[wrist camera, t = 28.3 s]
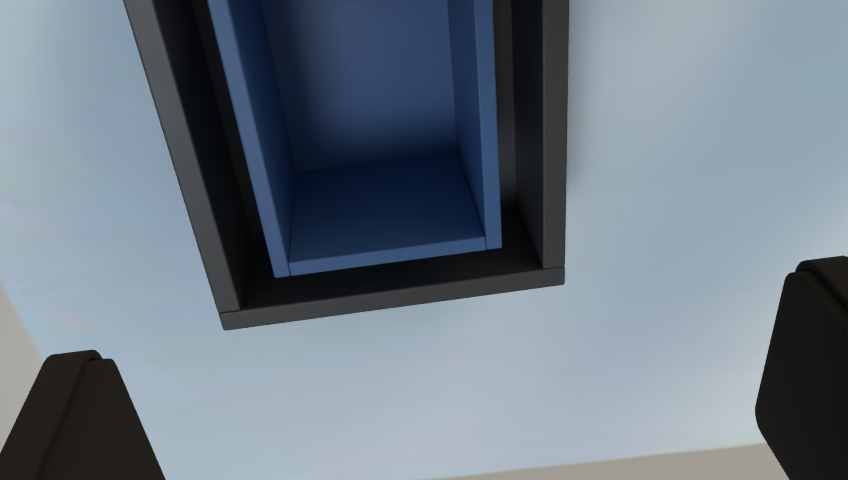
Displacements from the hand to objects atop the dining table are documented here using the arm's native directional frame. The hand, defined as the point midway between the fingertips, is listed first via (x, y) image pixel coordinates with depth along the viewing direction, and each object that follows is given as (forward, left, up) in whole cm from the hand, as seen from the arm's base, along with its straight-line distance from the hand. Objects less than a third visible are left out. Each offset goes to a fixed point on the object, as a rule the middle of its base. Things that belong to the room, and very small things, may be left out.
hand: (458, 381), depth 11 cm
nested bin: (+1, -1, -18) cm, 18 cm away
